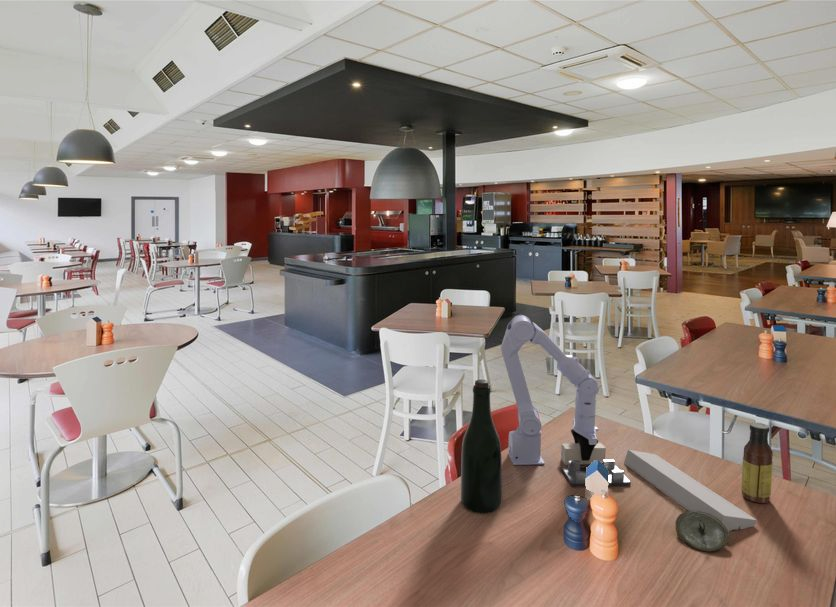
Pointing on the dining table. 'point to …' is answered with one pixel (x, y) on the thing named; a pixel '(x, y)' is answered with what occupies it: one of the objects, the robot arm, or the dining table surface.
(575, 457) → the cream rectangular block
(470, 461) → the dark green wine bottle
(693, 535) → the lid
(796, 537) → the dining table surface
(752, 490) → the sauce bottle
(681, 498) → the long grey wedge ramp
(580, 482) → the rack
